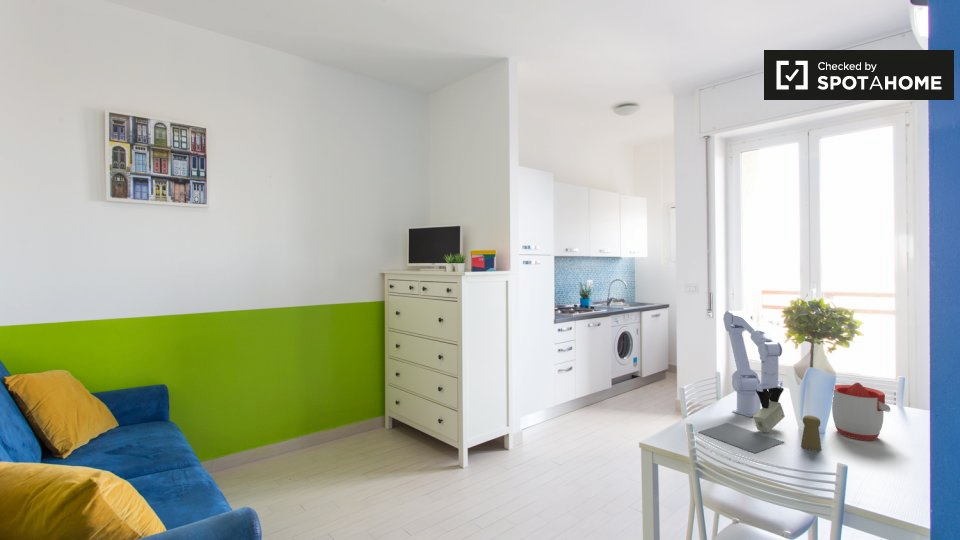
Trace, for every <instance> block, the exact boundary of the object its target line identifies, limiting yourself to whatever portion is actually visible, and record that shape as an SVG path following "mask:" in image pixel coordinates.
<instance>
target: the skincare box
mask: <svg viewBox="0 0 960 540" xmlns="http://www.w3.org/2000/svg"><path fill="white" fill-rule="evenodd" d="M785 417H786V415H785V413H784V409H783V406H782V404H781V402H779V401H778V402H772V401H769V408H768V409H766V408H762V407H761V410H760V411H758V412H757V413H756V414H755V415H754V416H752V418H753V420H754V424H755V426H756V428H757V430H758V431H760V432H763V433H764V432H765V433H769V432H771V430H772V429H774V428H775V427H776V426H777V424H779V423H780V422H781V421H782V420H783V419H784V418H785Z"/></svg>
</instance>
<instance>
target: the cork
mask: <svg viewBox="0 0 960 540" xmlns="http://www.w3.org/2000/svg"><path fill="white" fill-rule="evenodd" d="M802 423H803V425H804V426H803V432H802V436H801V437H802V438H801V442H800V447H802V448H804V449H805V448H806V450H809V449H810V450H809V451H814V450H819V451H821V450H822V444H821V443H822V442H821V436H820V435H821V434H820V428H819V427H820V426H821V420H820V418H819V417H817V416H815V415H804V416H803V418H802Z"/></svg>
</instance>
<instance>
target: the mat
mask: <svg viewBox="0 0 960 540" xmlns="http://www.w3.org/2000/svg"><path fill="white" fill-rule="evenodd" d="M698 433H699V434H701V435H704V436H707V437H709V438H712V439H715V440H717V441H720V442H722V443H726V444H728V445H730V446H733V447H736V448H739V449H742V450H744V451H747V452H749V453H752V454H754V455H755V454H758V453H761V452H763V451H766V450H768V449H771V448H773V447H775V446H779V445H781V443H782V444H783V443H785V441H783V440H781V439H777V438H774V437H772V436H769V435H766V434H763V433H759V432H757V431H754V430H750V429H747V428H744V427H741V426H738V425H735V424H733V423H729V422H725V423H722V424H719V425H715V426H712V427H710V428H706V429H702V430H699V431H698Z"/></svg>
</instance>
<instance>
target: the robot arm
mask: <svg viewBox="0 0 960 540" xmlns="http://www.w3.org/2000/svg"><path fill="white" fill-rule="evenodd" d="M722 320H723V324H724V328H725V331H726V332H728V335H729V341H730V345H731V348H732V353H733V357H734V362H735V367H736V371H735V372H733V373H732V374H731V380H732V381H731V385H732V388H733V390H734V391H735V392H736V409H734V410H733V409H732V413H735V414H737V415H738V414H739V415H741V416H745V417H749V418H753V416H754V415H755V414H756V413H757V412H758V411H760V410H761V409H762V408H766V409H768V408H769V402H770V401H772V402H779V401H780V397H781V395H782V393H783V392H784V388H783V381H782V380H779V357H780V356H782V354H783V348H782V345H781V344H780V343H781V342H779V341H775V340H773V339H771V337H770V336H769V335H768V334H767V333H766V332H765V331H764V330H763V329H759V327H758V326H757V325H756V324H755V322H754V320H753V314H752V313H751V312H750V311H749V310H726V311H725V312H724V314H723V318H722ZM745 331H747V333H749V334H750V339H751V341H752V342H753V343H754V344H755V346H756V347H757V351H758V354H759V360H760V361H761V363H760V364H761V367H760V369H761V370H760V371H761V377H760V378H759V375H758V373H757V372H756V371H755V370H753V369H752V368H751V365H750V362H749V358H748V354H747V348H746V345H745V341H744V337H743V333H744V332H745Z"/></svg>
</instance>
